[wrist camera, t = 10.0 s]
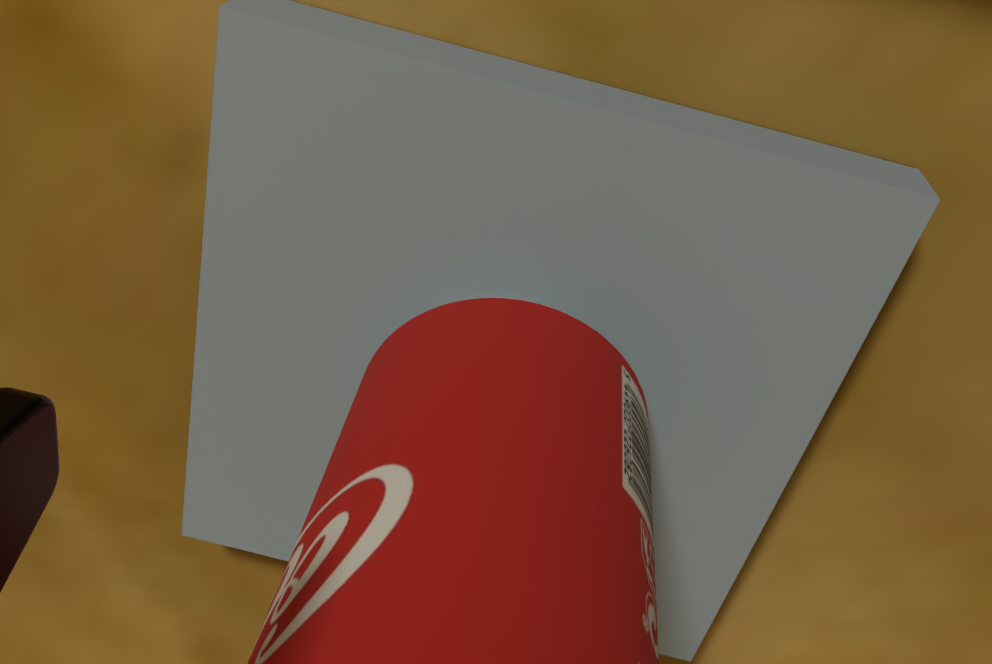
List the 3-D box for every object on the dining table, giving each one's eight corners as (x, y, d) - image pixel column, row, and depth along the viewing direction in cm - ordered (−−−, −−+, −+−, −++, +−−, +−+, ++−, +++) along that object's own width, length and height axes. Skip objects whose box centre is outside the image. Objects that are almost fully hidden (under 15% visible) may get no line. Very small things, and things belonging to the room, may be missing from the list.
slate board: (919, 169, 19) (940, 199, 18) (687, 618, 27) (690, 661, 25) (246, -12, 19) (219, 6, 18) (202, 496, 26) (181, 535, 25)
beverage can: (361, 263, 20) (98, 794, 10) (661, 282, 20) (707, 866, 9) (377, 488, 23) (192, 1058, 13) (633, 510, 23) (644, 1122, 13)
